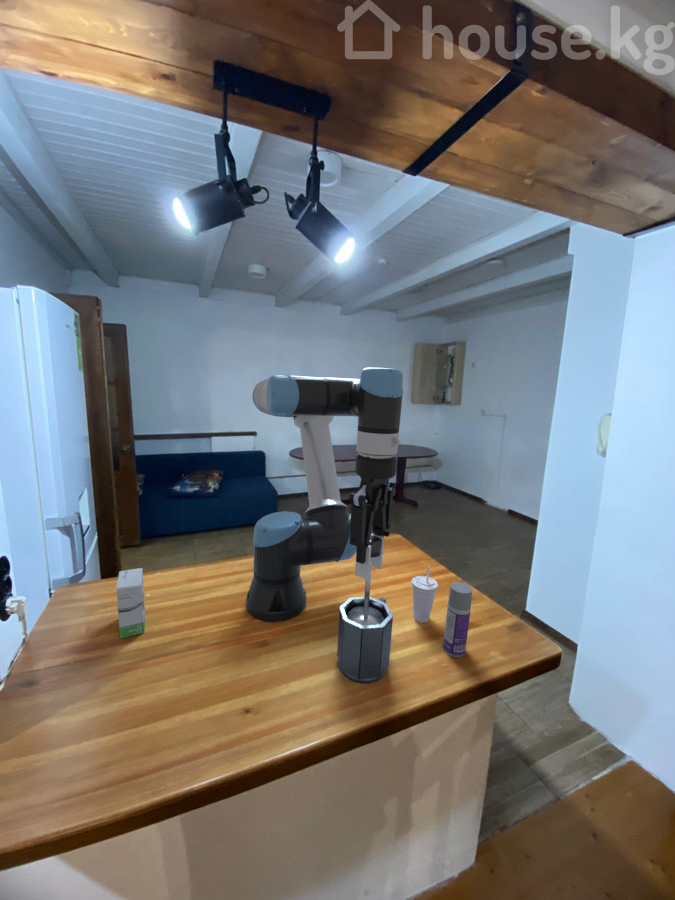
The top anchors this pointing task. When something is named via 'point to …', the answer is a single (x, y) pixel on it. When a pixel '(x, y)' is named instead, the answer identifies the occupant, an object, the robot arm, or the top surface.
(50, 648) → the top surface
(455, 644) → the container
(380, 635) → the mug
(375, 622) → the plunger
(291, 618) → the robot arm
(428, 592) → the smoothie
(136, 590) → the ink box
